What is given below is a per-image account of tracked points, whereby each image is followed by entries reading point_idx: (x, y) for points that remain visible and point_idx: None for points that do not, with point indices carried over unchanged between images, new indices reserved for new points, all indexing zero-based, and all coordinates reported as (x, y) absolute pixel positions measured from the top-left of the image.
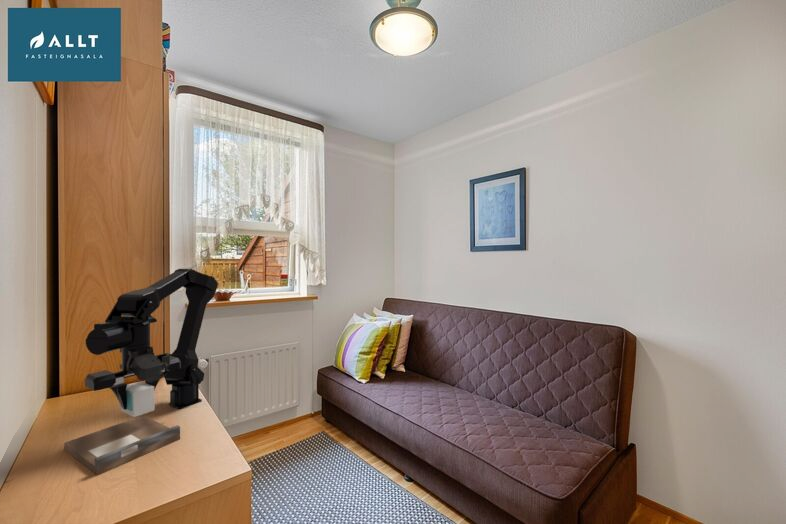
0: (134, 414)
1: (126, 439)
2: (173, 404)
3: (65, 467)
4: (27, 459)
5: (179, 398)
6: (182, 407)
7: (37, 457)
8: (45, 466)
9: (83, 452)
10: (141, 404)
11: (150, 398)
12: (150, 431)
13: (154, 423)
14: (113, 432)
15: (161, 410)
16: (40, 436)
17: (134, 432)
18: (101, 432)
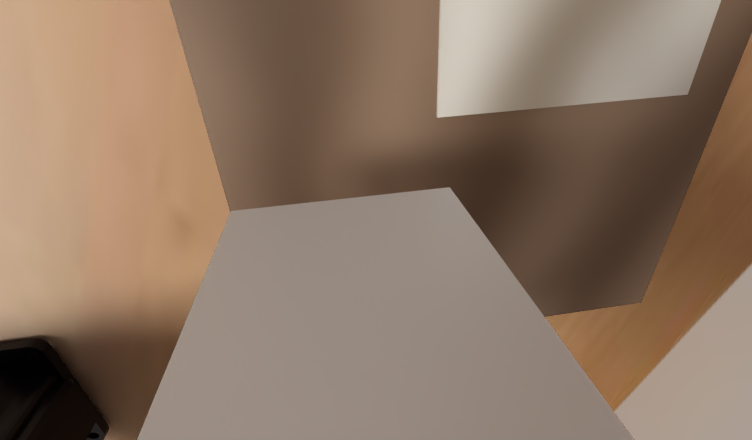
0: (453, 200)
1: (495, 52)
2: (75, 398)
3: (732, 86)
4: (699, 296)
5: (3, 425)
6: (23, 344)
7: (680, 288)
8: (734, 180)
9: (704, 100)
10: (394, 271)
11: (253, 324)
12: (319, 43)
13: (250, 181)
14: None
15: None
16: None
17: (405, 139)
18: None
